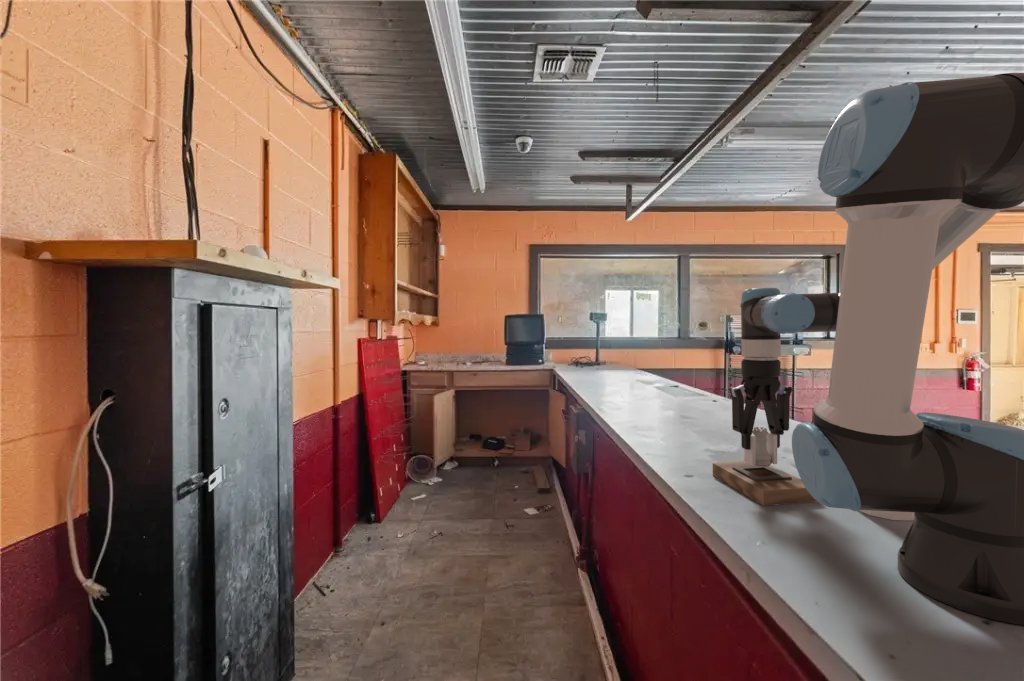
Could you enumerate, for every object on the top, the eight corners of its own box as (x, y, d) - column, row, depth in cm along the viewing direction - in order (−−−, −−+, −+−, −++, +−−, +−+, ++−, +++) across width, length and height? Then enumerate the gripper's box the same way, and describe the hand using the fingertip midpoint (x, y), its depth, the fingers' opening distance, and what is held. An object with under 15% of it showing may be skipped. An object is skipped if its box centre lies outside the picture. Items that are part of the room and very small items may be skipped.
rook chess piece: (775, 467, 93) (775, 431, 93) (752, 466, 94) (752, 430, 94) (767, 460, 98) (767, 426, 97) (745, 460, 99) (745, 425, 98)
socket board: (818, 501, 88) (818, 484, 87) (763, 505, 86) (763, 488, 86) (758, 472, 105) (758, 458, 105) (712, 475, 104) (712, 460, 104)
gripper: (784, 356, 100) (784, 455, 100) (713, 358, 98) (714, 459, 99) (810, 358, 92) (810, 466, 93) (733, 361, 90) (734, 470, 91)
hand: (760, 462), depth 96 cm, fingers closed on rook chess piece, 4 cm apart
